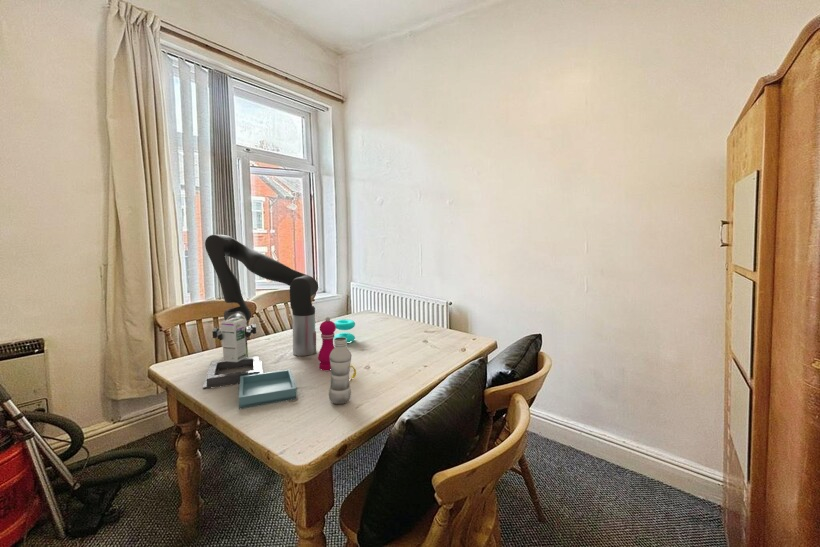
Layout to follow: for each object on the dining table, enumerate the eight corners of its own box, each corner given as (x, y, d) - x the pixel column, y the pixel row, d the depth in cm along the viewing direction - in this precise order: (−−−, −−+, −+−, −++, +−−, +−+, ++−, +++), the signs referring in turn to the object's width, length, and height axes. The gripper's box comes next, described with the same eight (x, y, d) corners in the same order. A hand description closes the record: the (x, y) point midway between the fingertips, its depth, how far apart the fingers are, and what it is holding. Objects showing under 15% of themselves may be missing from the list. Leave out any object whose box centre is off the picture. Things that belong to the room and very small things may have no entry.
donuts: (336, 318, 165) (356, 319, 164) (336, 338, 166) (356, 338, 166) (331, 323, 155) (353, 324, 155) (331, 344, 156) (352, 345, 156)
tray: (291, 378, 118) (290, 369, 118) (296, 398, 104) (296, 388, 103) (240, 386, 111) (240, 376, 111) (239, 408, 97) (238, 397, 97)
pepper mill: (320, 372, 124) (320, 320, 122) (316, 365, 130) (316, 315, 128) (339, 369, 127) (339, 318, 125) (334, 362, 133) (334, 314, 131)
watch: (353, 378, 120) (354, 362, 120) (356, 381, 118) (357, 365, 118) (337, 380, 117) (338, 364, 117) (339, 383, 115) (341, 366, 115)
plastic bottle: (330, 396, 106) (330, 335, 103) (352, 396, 106) (352, 335, 104) (327, 407, 99) (327, 342, 97) (350, 406, 100) (350, 342, 98)
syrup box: (237, 362, 116) (235, 322, 114) (222, 361, 117) (220, 321, 116) (248, 356, 122) (246, 318, 120) (234, 355, 123) (232, 317, 121)
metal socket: (261, 362, 132) (261, 354, 132) (263, 380, 116) (263, 372, 116) (209, 368, 124) (208, 361, 124) (202, 389, 108) (202, 380, 108)
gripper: (214, 317, 128) (210, 327, 113) (255, 313, 134) (256, 323, 119) (215, 335, 129) (211, 349, 114) (256, 331, 135) (257, 343, 120)
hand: (234, 336), depth 117 cm, fingers closed on syrup box, 8 cm apart
